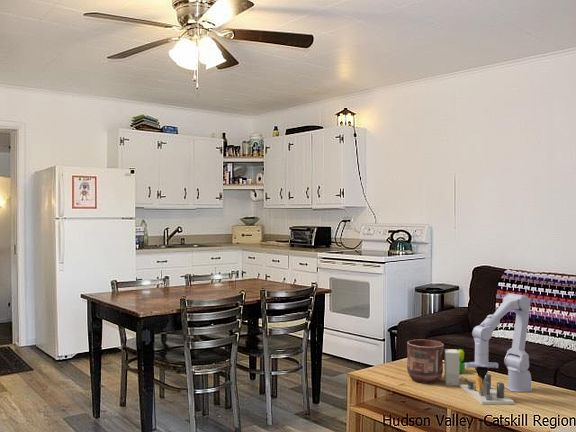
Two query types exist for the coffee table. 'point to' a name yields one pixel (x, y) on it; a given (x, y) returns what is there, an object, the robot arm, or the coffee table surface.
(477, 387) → the block
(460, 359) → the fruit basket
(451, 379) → the skincare box
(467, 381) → the paddle
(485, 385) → the paddle
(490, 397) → the breaker panel
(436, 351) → the pottery
